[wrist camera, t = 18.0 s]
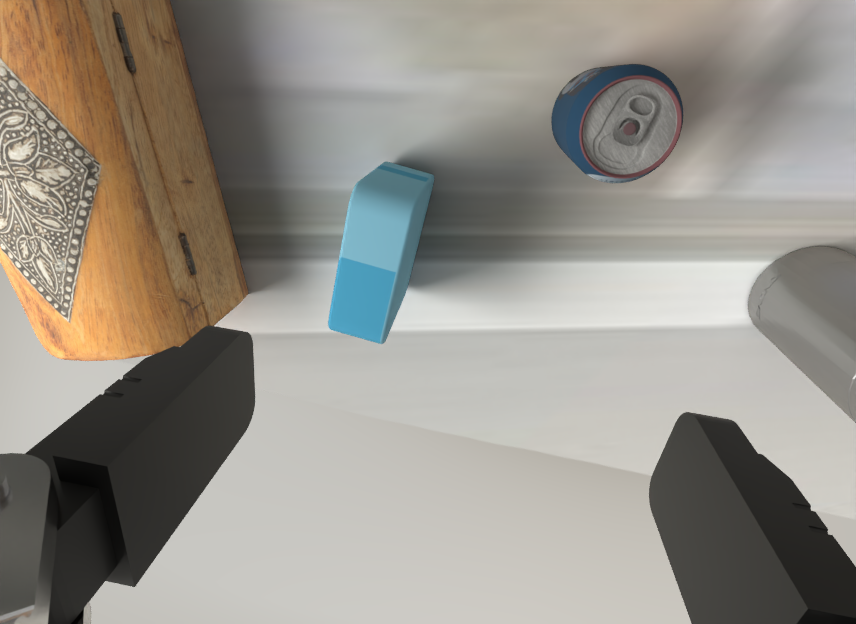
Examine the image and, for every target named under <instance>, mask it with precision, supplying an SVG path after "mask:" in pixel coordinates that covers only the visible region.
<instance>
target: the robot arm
mask: <svg viewBox="0 0 856 624" xmlns="http://www.w3.org/2000/svg"><path fill="white" fill-rule="evenodd" d="M748 310H749V316H750V318H751V320H752V322H753V324H754V325H755V326H756V327H757V328H758V329H759V331H760V332H761V333H763V334H764V335H765V336H766V337H767V338H768V339H769V340H770V341H771V342H772V343H773V344H774V345H775V346H776V347H777V348H778V349H779V350H780V351H781V352H782V353H783V354H784V355H785V356H786V357H787V358H788V359H789V360H790V361H791V362H793V363H794V364H795V365H796V366H797V367H798V368H799V369H800V370H801V371H802V372H803V373H804V374H805V375H806V376H807V377H808V378H809V379H810V380H811V381H812V382H813V383H814V384H816V385H817V386H818V387H819V388H820V389H821V390H822V391H823V392H824V393H825V394H826V395H827V396H828V397H829V398H830V399H831V400H832V401H833V402H834V403H835V404H836V405H837V406H839V407H840V408H841V409H842V410H843V411H844V412H845V413H846V414H847V415H848V416H849V417H850V418H851V419H852V420H853V421H854V422H855V423H856V257H855V256H853V255H851V254H849V253H847V252H845V251H842V250H840V249H838V248H832V247H826V246H819V247H809V248H804V249H799V250H797V251H794V252H791V253H789V254H787V255H785V256H783V257H781V258H779V259H778V260H776V261H775V262H773V263H772V264H771V265H770V266H769V267H767V268H766V269H765V270H764V271H763V272H762V274H761V275H760V276H759V277H758V278H757V280H756V282H755V283H754V285H753V287H752V289H751V292H750V295H749V301H748ZM254 406H255V383H254V358H253V341H252V338H251V335H250V334H249V333H248V332H243V331H237V330H232V329H226V328H221V327H215V326H205V327H204V328H202V329H201V330H200V331H199V332H197V333H196V334H195V335H194V336H193V337H192V338H190V339H189V340H188V341H187V342H186V343H184V344H183V345H182V346H181V347H176V346H173V347H171V348H168V349H166V350H164V351H161V352H159V353H157V354H154V355H152V356H150V357H147V358H145V359H144V360H142V361H141V362H140V363H139V364H137V365H136V366H135V367H134V368H132V369H131V370H130V371H129V372H127V373H126V374H125V375H124V376H123V379H122V380H120V379H119V380H117V381H116V382H115V383H114V384H112V385H111V386H110V387H109V388H108V389H106V390H105V393H104V394H103V395H99V396H97V397H96V398H95V399H93V400H92V401H91V402H90V403H89V404H87V405H86V406H85V407H83V408H82V409H81V410H80V411H79V412H77V413H76V414H74V415H73V416H72V417H71V418H70V419H68V420H67V421H66V422H64V423H63V424H62V425H61V426H59V427H58V428H57V429H56V430H54V431H53V432H52V433H51V434H49V435H48V436H47V437H46V438H44V439H43V440H42V441H41V442H39V443H38V444H37V445H35V446H34V447H33V448H32V449H30V450H29V451H28V452H27V453H26V454H18V453H17V454H16V453H9V454H0V624H91V606H90V603H89V601H90V600H91V598H92V597H93V596H94V594H95V593H96V592H97V590H98V589H99V588H100V587H101V586H102V584H103V583H104V582H105V581H109V582H114V583H119V584H123V585H128V586H132V587H135V586H136V584H137V583H138V582H139V580H140V579H141V577H142V576H143V575H144V573H145V571H146V570H147V569H148V567H149V566H150V565H151V563H152V562H153V561H154V559H155V558H156V556H157V555H158V554H159V552H160V551H161V549H162V548H163V546H164V545H165V544H166V542H167V541H168V540H169V538H170V536H171V535H172V534H173V533H174V531H175V529H176V528H177V527H178V526H179V524H180V523H181V521H182V520H183V519H184V517H185V515H186V514H187V513H188V512H189V510H190V509H191V507H192V506H193V504H194V503H195V502H196V500H197V499H198V497H199V496H200V495H201V493H202V492H203V490H204V489H205V487H206V486H207V485H208V483H209V482H210V481H211V479H212V478H213V476H214V475H215V474H216V472H217V471H218V469H219V468H220V467H221V465H222V464H223V462H224V461H225V460H226V458H227V457H228V455H229V454H230V453H231V451H232V450H233V448H234V447H235V445H236V444H237V443H238V441H239V440H240V439H241V437H242V436H243V434H244V433H245V431H246V430H247V428H248V426H249V424H250V421H251V419H252V415H253V411H254ZM649 499H650V507H651V511H652V514H653V517H654V519H655V522H656V525H657V528H658V531H659V533H660V536H661V539H662V542H663V545H664V547H665V550H666V553H667V556H668V559H669V561H670V564H671V567H672V570H673V572H674V575H675V578H676V581H677V583H678V586H679V589H680V592H681V595H682V598H683V600H684V603H685V606H686V609H687V611H688V614H689V617H690V620H691V623H692V624H856V567H855V565H854V564H853V563H852V561H851V560H850V558H849V557H848V556H847V554H846V553H845V552H844V550H843V549H842V548H841V546H840V545H839V544H838V542H837V541H836V539H834V537H833V536H832V535H828V532H827V531H828V529H827V527H826V526H825V525H824V523H823V522H822V521H821V519H820V518H819V516H818V515H817V514H816V512H814V511H811V509H810V508H811V505H810V504H809V503H808V501H807V500H806V499H805V497H804V496H803V495H802V493H801V492H800V491H799V489H798V488H797V486H796V485H795V484H794V482H793V481H792V480H791V479H790V478H789V477H788V476H787V475H786V474H784V473H783V472H782V471H781V470H780V469H779V468H777V467H776V466H775V465H774V464H773V463H772V462H770V461H769V460H768V459H767V458H766V457H765V456H763V455H762V454H758V453H757V452H756V450H755V449H754V448H753V446H752V445H751V443H750V442H749V440H748V439H747V437H746V436H745V435H744V433H743V432H742V430H741V429H740V427H739V426H738V425H737V424H736V423H735V422H734V421H732V420H729V419H723V418H718V417H712V416H707V415H701V414H695V413H690V412H686V413H683V414H682V415H681V416H680V417H679V418H678V420H677V421H676V423H675V426H674V428H673V430H672V432H671V434H670V437H669V439H668V441H667V443H666V446H665V448H664V450H663V452H662V454H661V457H660V459H659V461H658V463H657V466H656V468H655V470H654V472H653V475H652V478H651V482H650V488H649Z"/></svg>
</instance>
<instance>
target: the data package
mask: <svg viewBox="0 0 856 624" xmlns="http://www.w3.org/2000/svg"><path fill="white" fill-rule="evenodd" d="M433 183H434V175H432V174H429V173H426V172H422V171H418V170H415V169H411V168H408V167H404V166H401V165H397V164H394V163H390V162H384V163H383V164H381V165H380V166H379V167H377V168H376V169H375V170H373V171H372V172H371V173H369V174H368V175H367V176H365V177H364V178H363V179H361V180H360V181H359V182H357V184H356V185H355V187H354V189H353V191H352V194H351V197H350V201H349V205H348V211H347V216H346V222H345V228H344V234H343V239H342V245H341V251H340V257H339V262H338V268H337V274H336V280H335V285H334V291H333V297H332V303H331V308H330V314H329V321H328V325H329V328H330V329H331V330H334V331H337V332H341V333H344V334H348V335H351V336H355V337H358V338H362V339H366V340H369V341H373V342H376V343H380V344H383V343H384V342H385V341H386V338H387V336H388V334H389V331H390V329H391V327H392V324H393V322H394V319H395V317H396V315H397V312H398V310H399V308H400V305H401V303H402V301H403V298H404V296H405V293H406V290H407V287H408V283H409V280H410V276H411V272H412V268H413V264H414V260H415V256H416V252H417V248H418V244H419V240H420V236H421V232H422V228H423V224H424V220H425V216H426V212H427V208H428V204H429V200H430V196H431V192H432V188H433Z"/></svg>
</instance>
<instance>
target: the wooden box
mask: <svg viewBox="0 0 856 624" xmlns="http://www.w3.org/2000/svg"><path fill="white" fill-rule="evenodd" d="M0 262H1V264H2V266H3V268H4V270H5V272H6V274H7V276H8V278H9V280H10V282H11V284H12V286H13V288H14V290H15V292H16V294H17V296H18V298H19V300H20V302H21V304H22V306H23V308H24V310H25V312H26V314H27V316H28V319H29V321H30V323H31V325H32V327H33V330H34V332H35V334H36V336H37V337H38V339H39V341H40V342H41V344H42V345H43V347H44V348H45V349H46V350H47V351H48V352H49V353H50V354H51V355H53V356H55V357H57V358H60V359H65V360H80V361H98V360H99V361H103V360H118V359H126V358H133V357H140V356H147V355H153V354H157V353H159V352H161V351H164V350H166V349H168V348H171V347H173V346H176V347H179V346H182V345H183V344H184V343H186V342H187V341H188V340H189V339H190V338H192V337H193V336H194V335H195V334H196V333H197V332H199V331H200V330H201V329H202V328H204V327H205V326H214V325H215V324H216V323H217V322H218V321H220V320H221V319H222V318H223V317H224V316H225V315H226V314H228V313H229V312H230V311H231V310H232V309H234V308H235V307H236V306H237V305H238V304H239V303H240V302H241V301H242V300H243V299H244V298H245V297H246V296H247V295H248V289H247V286H246V282H245V278H244V274H243V270H242V267H241V263H240V259H239V255H238V252H237V249H236V246H235V241H234V237H233V234H232V230H231V226H230V222H229V219H228V216H227V212H226V208H225V205H224V201H223V197H222V193H221V189H220V186H219V182H218V178H217V175H216V170H215V167H214V163H213V159H212V156H211V152H210V148H209V145H208V140H207V136H206V133H205V129H204V126H203V122H202V118H201V114H200V111H199V108H198V104H197V100H196V96H195V92H194V88H193V85H192V81H191V77H190V73H189V70H188V66H187V62H186V59H185V55H184V51H183V47H182V43H181V40H180V36H179V32H178V29H177V25H176V21H175V18H174V14H173V10H172V6H171V3H170V0H0Z"/></svg>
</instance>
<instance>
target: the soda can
mask: <svg viewBox="0 0 856 624" xmlns="http://www.w3.org/2000/svg"><path fill="white" fill-rule="evenodd" d="M682 123H683V106H682V101H681V98H680V95H679V92H678V90H677V88H676V87H675V85H674V84H673V83H672V81H671V80H670V79H669V78H668V77H667V76H666V75H664V74H663V73H662V72H660V71H658V70H656V69H654V68H652V67H649V66H645V65H638V64H629V65H619V66H610V67H600V68H594V69H590V70H587V71H585V72H583V73H581V74H579V75H577V76H576V77H574V78H573V79H572V80H571V81H570V82H569V83H568V84H567V85H566V86H565V87H564V88H563V89H562V91H561V92H560V94H559V96H558V98H557V100H556V102H555V105H554V108H553V112H552V131H553V135H554V138H555V140H556V142H557V144H558V145H559V147H560V148H561V149H562V150H563V152H564V153H565V154H566V155H567V156H568V157H569V158H570V159H571V160H572V161H573V162H574V163H575V164H576V165H577V166H578V167H579V168H580V169H581V170H582V171H583V172H584V173H585V174H587V175H588V176H590V177H592V178H594V179H596V180H599V181H602V182H607V183H624V182H629V181H633V180H636V179H638V178H641V177H643V176H645V175H647V174H649V173H650V172H652V171H653V170H655V169H656V168H657V167H658V166H660V165H661V164H662V163H663V162H664V161H665V160H666V158H667V157H668V156H669V155H670V153H671V152H672V150H673V149H674V147H675V145H676V143H677V141H678V138H679V135H680V132H681V128H682Z"/></svg>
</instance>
